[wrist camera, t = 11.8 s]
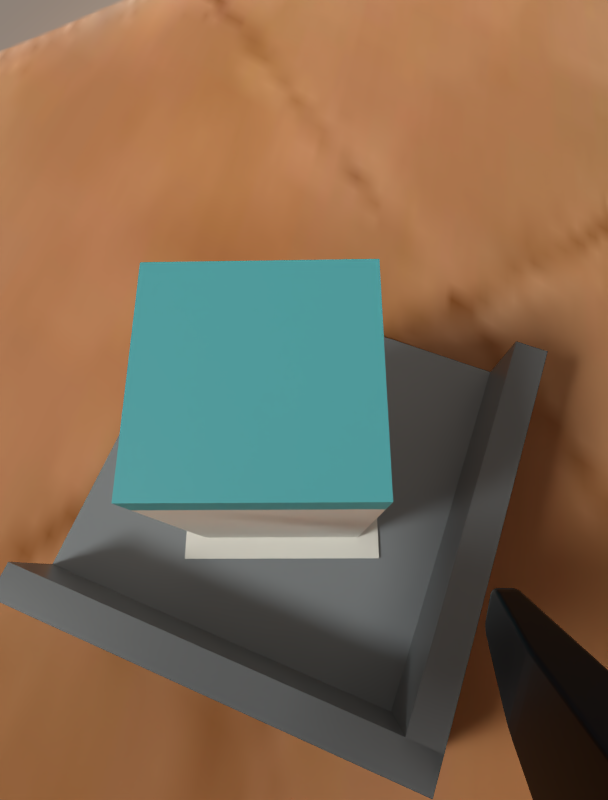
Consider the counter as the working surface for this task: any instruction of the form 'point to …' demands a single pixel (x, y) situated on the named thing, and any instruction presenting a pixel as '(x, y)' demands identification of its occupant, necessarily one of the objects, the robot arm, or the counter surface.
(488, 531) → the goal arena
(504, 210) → the counter surface
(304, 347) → the white teal-lidded canister
